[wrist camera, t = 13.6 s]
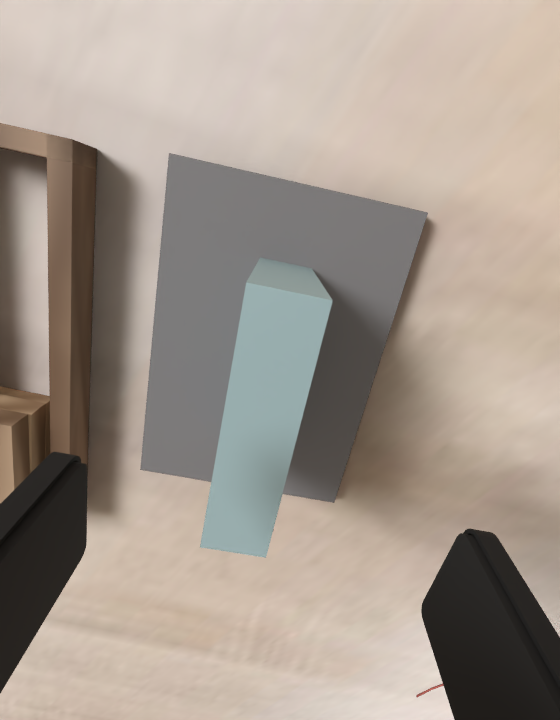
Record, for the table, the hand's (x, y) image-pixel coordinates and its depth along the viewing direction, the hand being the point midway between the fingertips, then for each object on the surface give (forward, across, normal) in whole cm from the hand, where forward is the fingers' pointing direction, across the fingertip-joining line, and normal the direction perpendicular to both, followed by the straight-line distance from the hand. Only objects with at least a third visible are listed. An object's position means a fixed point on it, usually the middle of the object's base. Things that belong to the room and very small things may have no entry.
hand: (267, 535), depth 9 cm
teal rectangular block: (+14, +1, +1) cm, 14 cm away
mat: (+15, +1, +1) cm, 15 cm away
